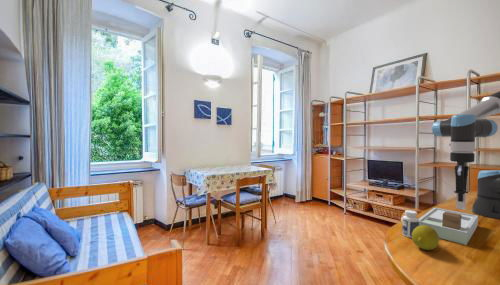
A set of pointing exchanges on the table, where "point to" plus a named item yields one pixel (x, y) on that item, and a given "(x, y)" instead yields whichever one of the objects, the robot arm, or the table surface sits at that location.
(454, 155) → the robot arm
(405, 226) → the pill bottle
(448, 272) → the table surface
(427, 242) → the lemon
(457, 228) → the walnut block
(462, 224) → the board
